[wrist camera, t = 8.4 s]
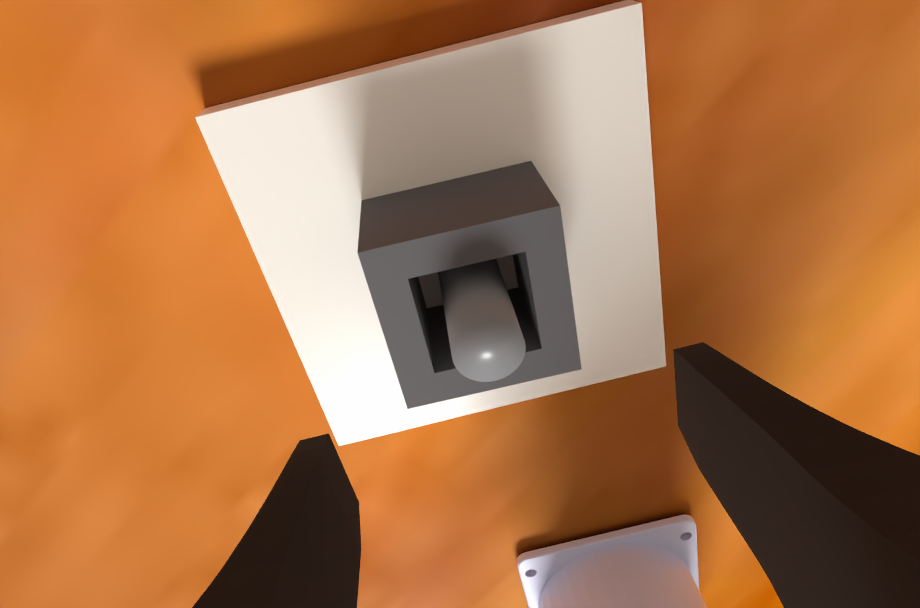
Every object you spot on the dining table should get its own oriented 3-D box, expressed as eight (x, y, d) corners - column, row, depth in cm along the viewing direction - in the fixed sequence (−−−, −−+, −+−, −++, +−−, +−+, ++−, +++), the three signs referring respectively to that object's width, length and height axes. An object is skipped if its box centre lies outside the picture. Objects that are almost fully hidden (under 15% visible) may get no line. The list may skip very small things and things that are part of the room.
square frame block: (553, 306, 21) (581, 369, 18) (404, 340, 21) (407, 409, 18) (531, 160, 18) (560, 205, 15) (361, 200, 18) (357, 252, 15)
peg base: (655, 350, 23) (733, 468, 18) (340, 427, 24) (328, 564, 19) (628, -1, 17) (732, 27, 12) (204, 108, 18) (130, 181, 12)
